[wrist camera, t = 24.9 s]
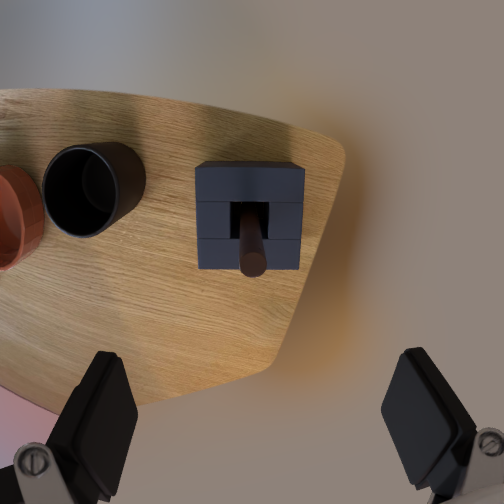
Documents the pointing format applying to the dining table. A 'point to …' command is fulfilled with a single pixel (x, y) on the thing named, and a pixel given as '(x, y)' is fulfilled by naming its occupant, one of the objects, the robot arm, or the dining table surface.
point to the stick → (251, 242)
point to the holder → (257, 190)
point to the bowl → (18, 216)
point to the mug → (92, 187)
